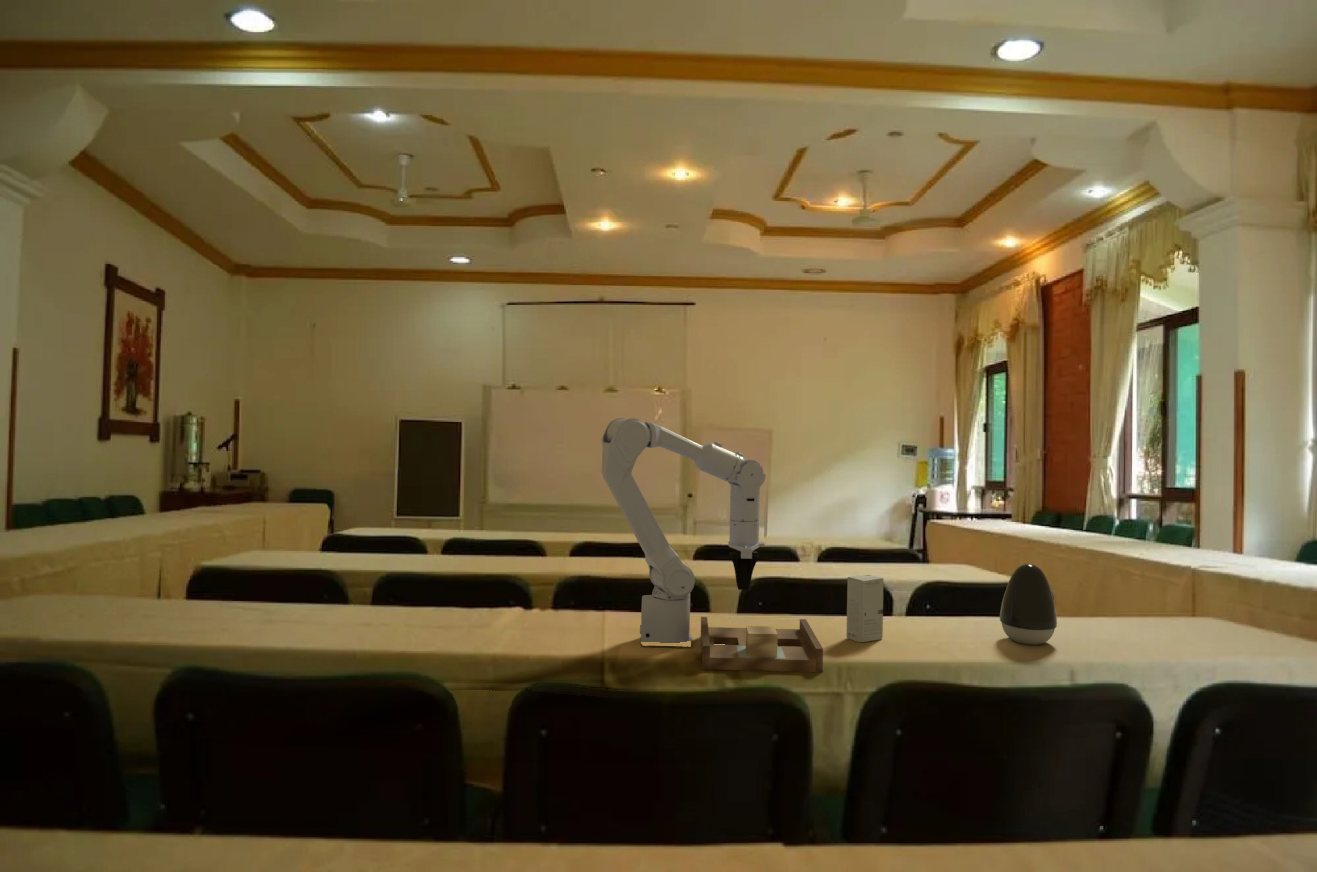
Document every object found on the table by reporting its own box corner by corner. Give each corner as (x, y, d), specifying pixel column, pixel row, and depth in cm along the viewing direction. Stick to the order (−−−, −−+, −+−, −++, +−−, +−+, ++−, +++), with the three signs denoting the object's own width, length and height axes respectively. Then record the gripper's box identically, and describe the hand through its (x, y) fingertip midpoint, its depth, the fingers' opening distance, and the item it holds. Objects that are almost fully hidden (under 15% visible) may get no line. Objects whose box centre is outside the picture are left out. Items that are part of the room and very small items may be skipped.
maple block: (747, 656, 140) (748, 633, 140) (745, 648, 145) (746, 625, 145) (777, 657, 140) (777, 634, 139) (774, 648, 145) (774, 626, 144)
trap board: (702, 668, 139) (702, 645, 139) (700, 637, 159) (700, 616, 159) (822, 672, 138) (823, 648, 138) (805, 639, 158) (805, 619, 158)
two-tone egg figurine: (1055, 637, 162) (1057, 562, 162) (1056, 651, 153) (1059, 570, 152) (1000, 631, 167) (1002, 557, 166) (998, 644, 157) (1000, 565, 157)
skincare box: (862, 643, 156) (863, 580, 156) (844, 638, 160) (846, 576, 160) (884, 639, 160) (885, 577, 159) (866, 633, 163) (867, 573, 163)
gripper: (768, 525, 152) (767, 597, 152) (761, 515, 166) (760, 581, 167) (730, 524, 152) (729, 596, 152) (726, 515, 166) (725, 581, 167)
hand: (743, 589), depth 159 cm, fingers closed
